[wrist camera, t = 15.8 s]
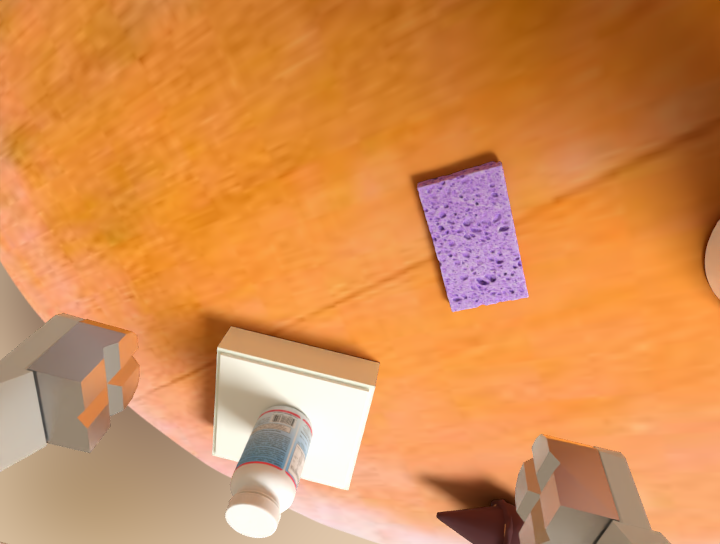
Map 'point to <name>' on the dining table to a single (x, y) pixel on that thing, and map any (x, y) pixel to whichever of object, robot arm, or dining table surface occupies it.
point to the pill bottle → (269, 471)
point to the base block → (293, 398)
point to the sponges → (474, 236)
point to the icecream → (486, 523)
